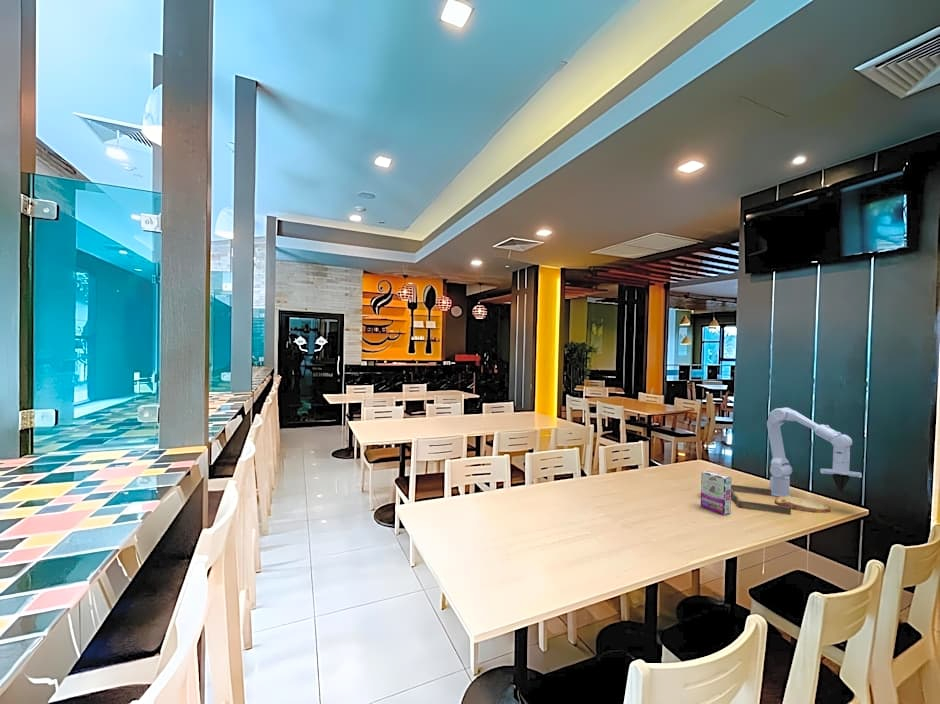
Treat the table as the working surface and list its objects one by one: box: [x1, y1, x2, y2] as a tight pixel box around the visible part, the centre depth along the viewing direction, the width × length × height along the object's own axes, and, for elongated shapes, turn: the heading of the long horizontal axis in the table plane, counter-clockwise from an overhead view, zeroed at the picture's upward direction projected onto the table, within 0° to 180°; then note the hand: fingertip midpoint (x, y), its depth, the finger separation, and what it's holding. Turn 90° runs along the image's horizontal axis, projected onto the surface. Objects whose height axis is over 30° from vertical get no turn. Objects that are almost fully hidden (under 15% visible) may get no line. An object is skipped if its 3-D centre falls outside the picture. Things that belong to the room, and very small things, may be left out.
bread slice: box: [774, 495, 832, 514], centre depth 194 cm, size 18×18×4 cm
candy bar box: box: [700, 470, 732, 516], centre depth 186 cm, size 11×5×16 cm, turn 27°
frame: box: [731, 484, 792, 515], centre depth 199 cm, size 26×20×3 cm
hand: (839, 490), depth 189 cm, fingers closed
